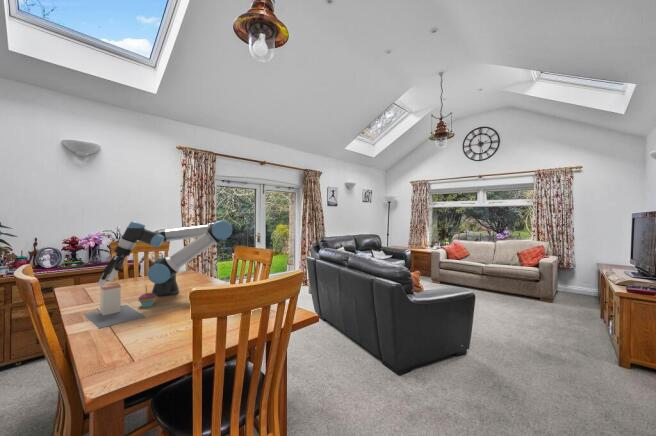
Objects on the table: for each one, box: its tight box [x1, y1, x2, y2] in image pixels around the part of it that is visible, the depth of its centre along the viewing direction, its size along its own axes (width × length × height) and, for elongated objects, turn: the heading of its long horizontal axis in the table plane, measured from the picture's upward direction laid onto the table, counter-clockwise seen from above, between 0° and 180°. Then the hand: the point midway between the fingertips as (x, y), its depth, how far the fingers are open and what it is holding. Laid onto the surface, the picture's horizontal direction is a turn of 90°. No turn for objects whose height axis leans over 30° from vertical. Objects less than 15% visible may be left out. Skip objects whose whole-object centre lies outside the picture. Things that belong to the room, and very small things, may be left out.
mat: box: [83, 304, 147, 330], centre depth 134 cm, size 28×18×1 cm, turn 53°
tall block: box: [99, 282, 122, 315], centre depth 137 cm, size 5×7×14 cm
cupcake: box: [138, 284, 158, 308], centre depth 149 cm, size 9×8×12 cm
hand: (105, 282), depth 149 cm, fingers open, 13 cm apart
